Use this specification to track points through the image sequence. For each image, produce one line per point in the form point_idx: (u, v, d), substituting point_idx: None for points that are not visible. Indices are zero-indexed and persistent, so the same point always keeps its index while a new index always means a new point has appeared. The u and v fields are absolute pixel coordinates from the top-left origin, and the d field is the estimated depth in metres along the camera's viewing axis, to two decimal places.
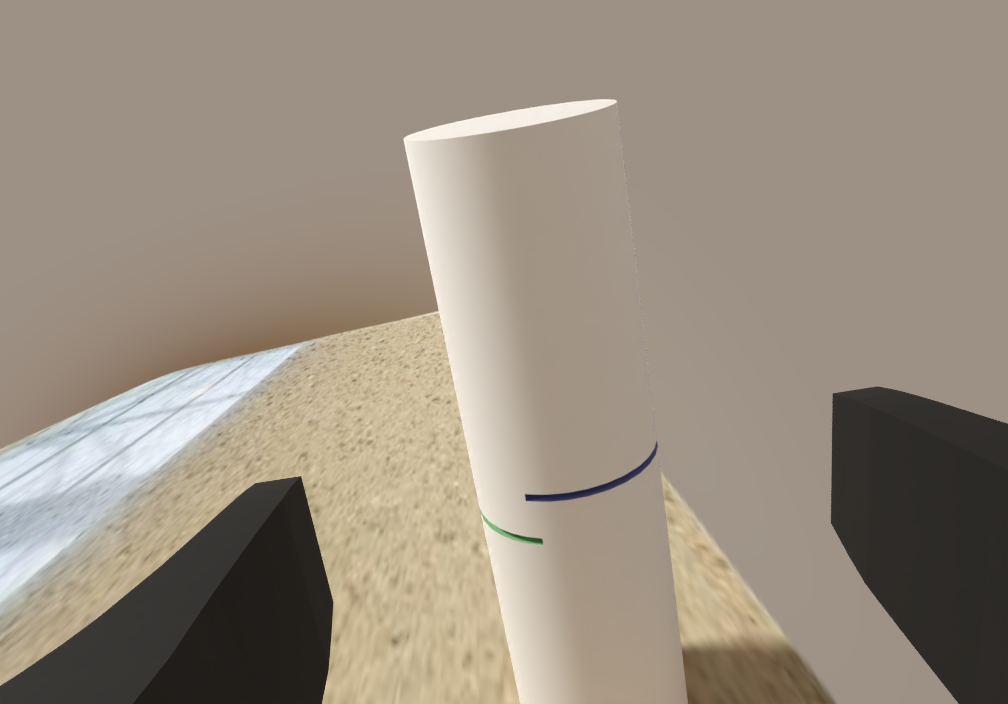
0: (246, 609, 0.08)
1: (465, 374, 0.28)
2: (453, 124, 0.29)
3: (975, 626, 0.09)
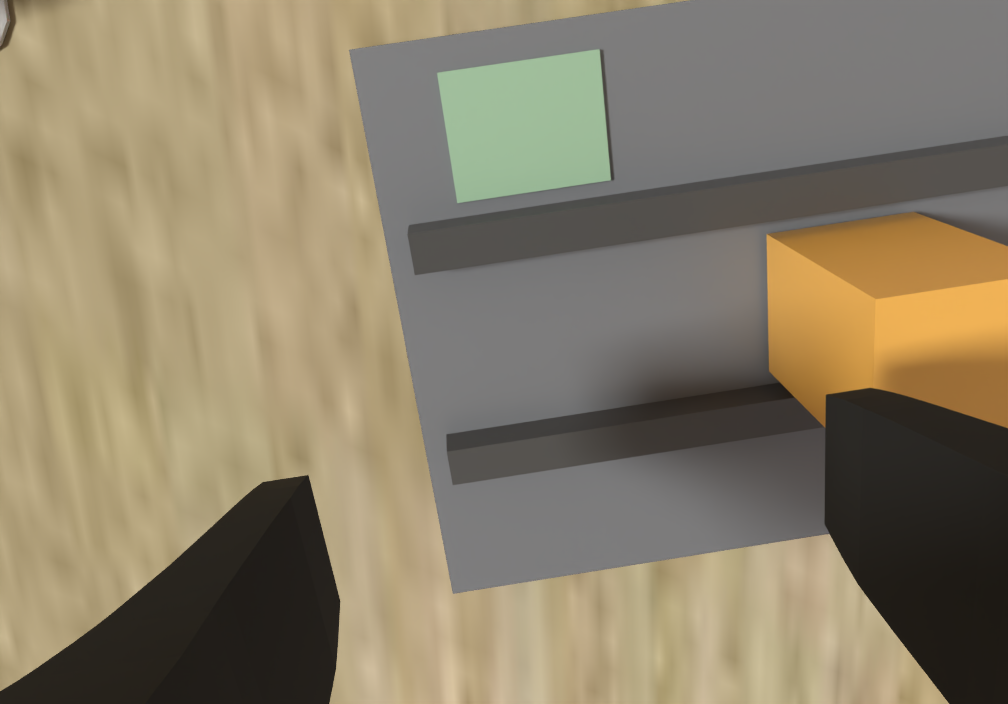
0: (255, 608, 0.08)
1: None
2: None
3: (966, 627, 0.09)
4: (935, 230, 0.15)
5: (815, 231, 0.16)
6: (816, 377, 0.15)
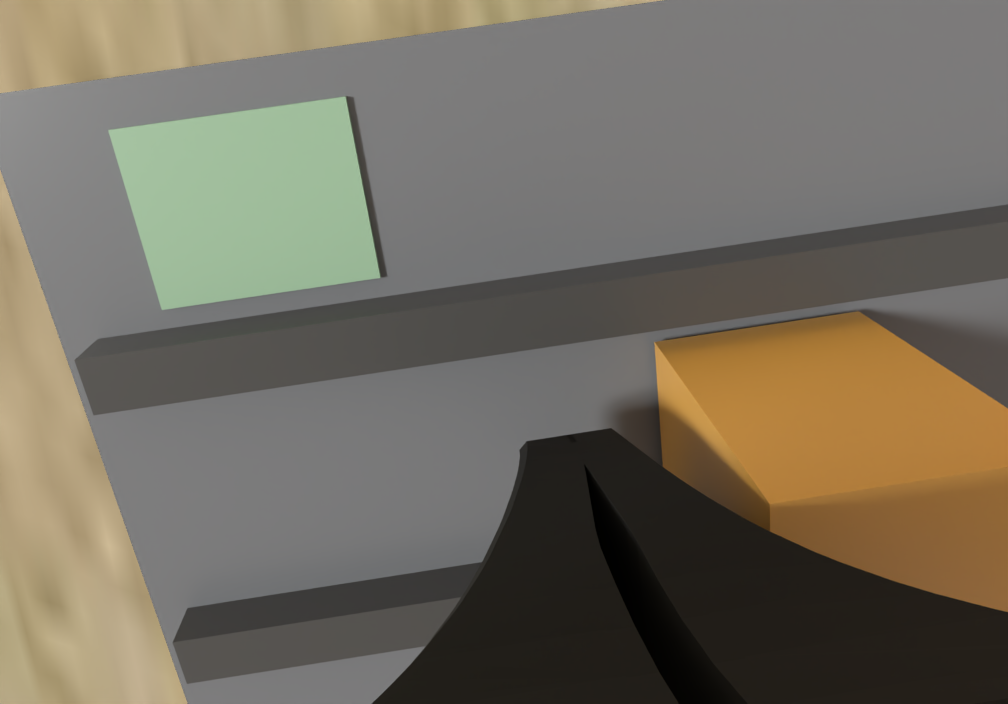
0: None
1: None
2: None
3: None
4: (885, 352, 0.11)
5: (720, 341, 0.12)
6: None
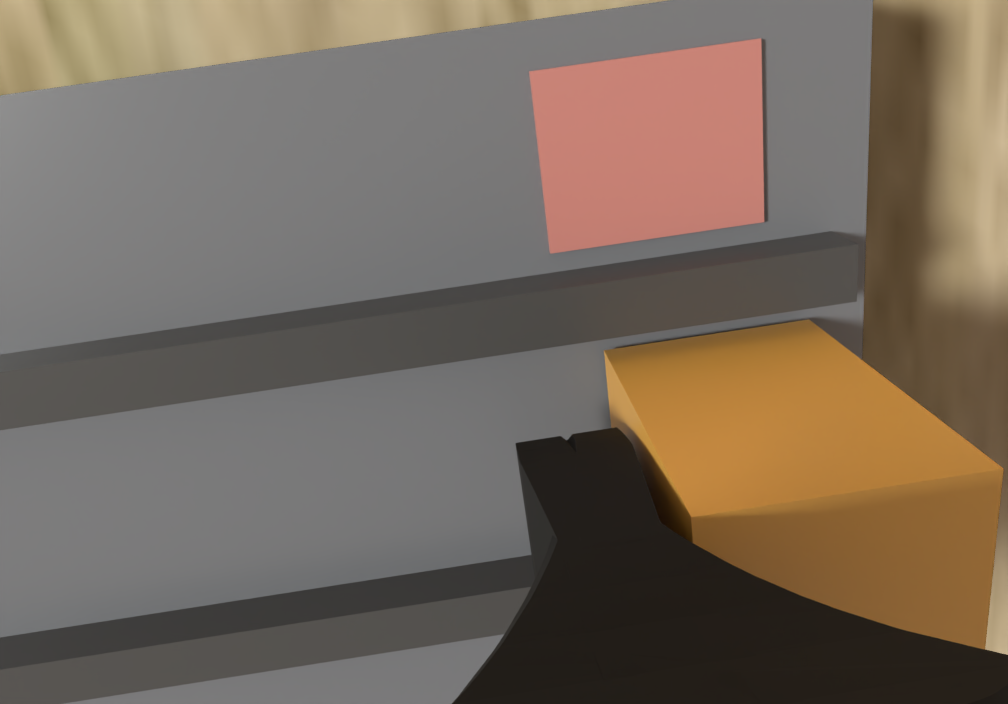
0: None
1: None
2: None
3: None
4: (828, 362, 0.10)
5: (668, 349, 0.12)
6: None
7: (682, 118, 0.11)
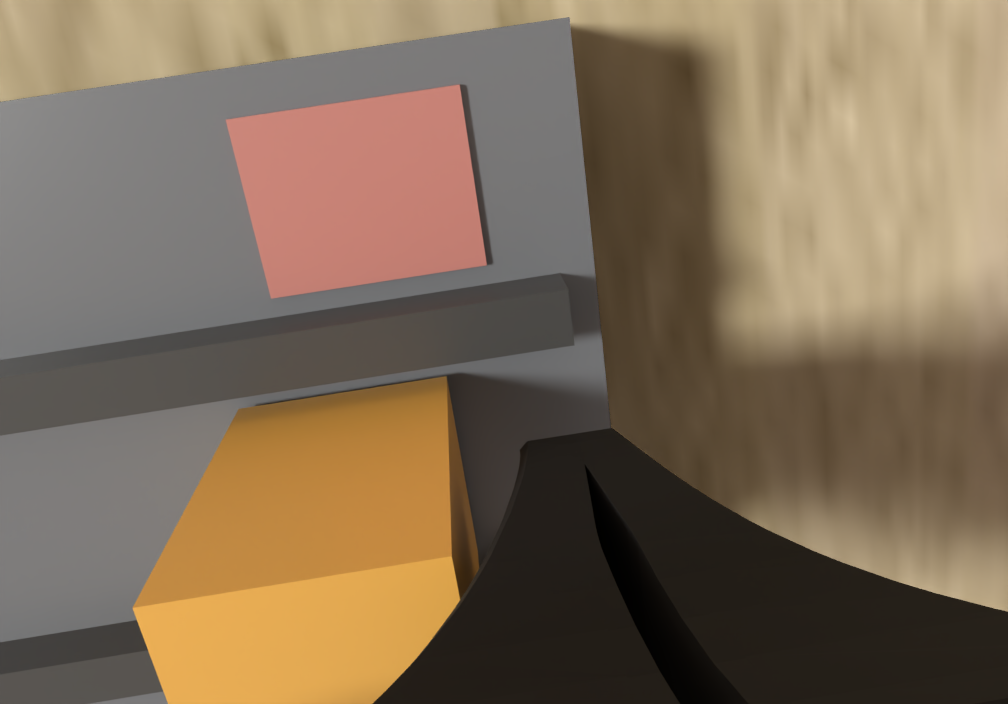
0: None
1: None
2: None
3: None
4: (416, 426, 0.10)
5: (293, 409, 0.11)
6: None
7: (391, 164, 0.11)
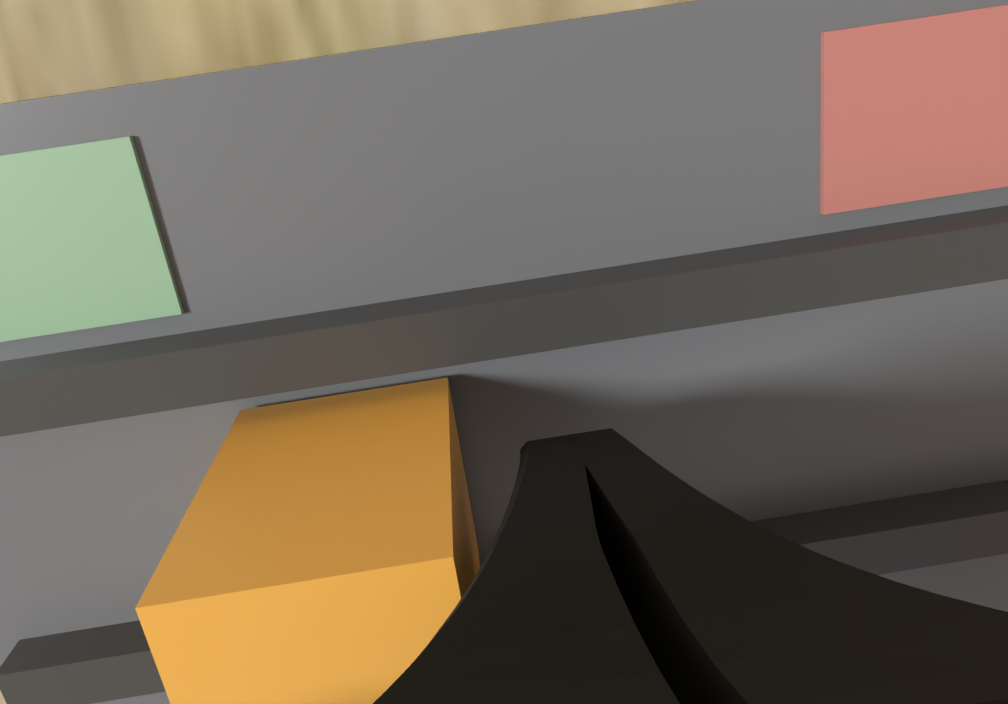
0: None
1: None
2: None
3: None
4: (418, 426, 0.10)
5: (295, 410, 0.11)
6: None
7: (963, 79, 0.11)
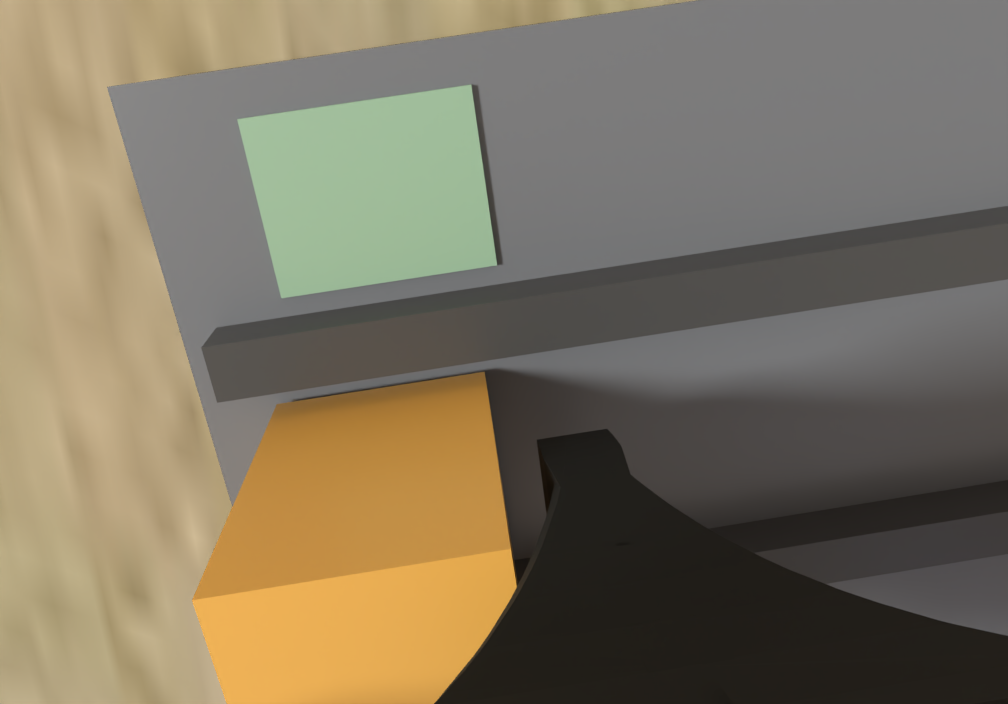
0: None
1: None
2: None
3: None
4: (460, 420, 0.10)
5: (333, 404, 0.11)
6: None
7: None
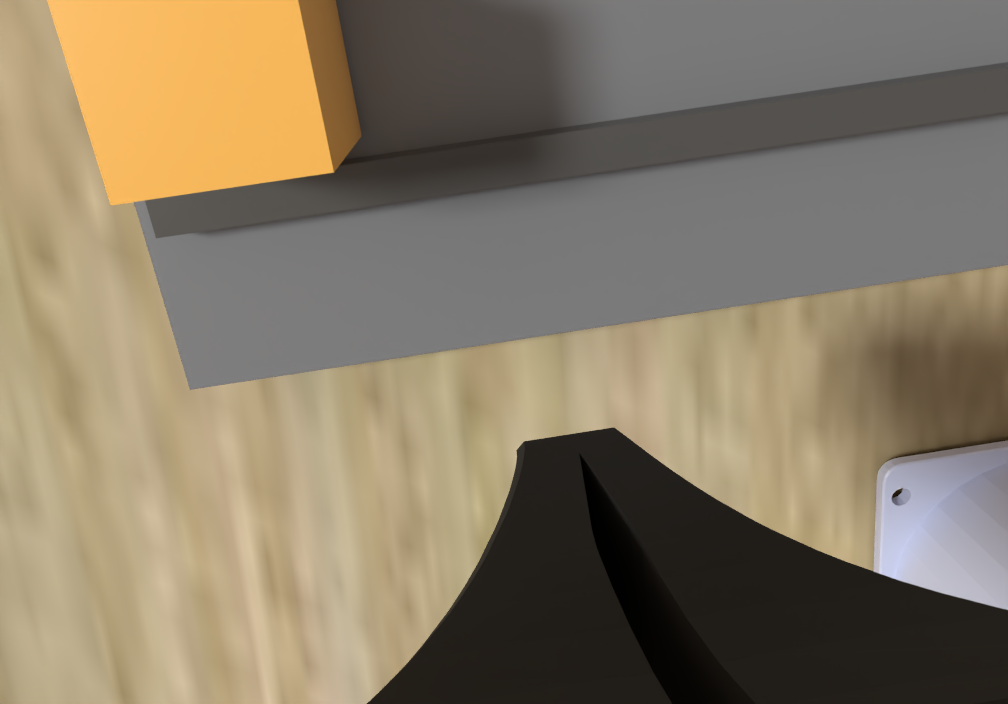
0: None
1: None
2: None
3: None
4: None
5: None
6: None
7: None
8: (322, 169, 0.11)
